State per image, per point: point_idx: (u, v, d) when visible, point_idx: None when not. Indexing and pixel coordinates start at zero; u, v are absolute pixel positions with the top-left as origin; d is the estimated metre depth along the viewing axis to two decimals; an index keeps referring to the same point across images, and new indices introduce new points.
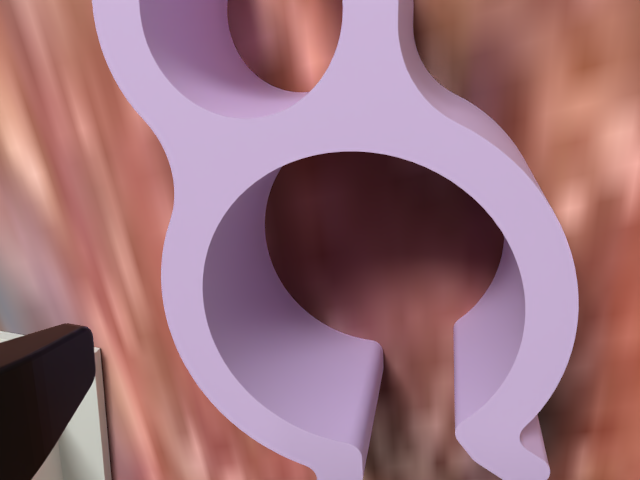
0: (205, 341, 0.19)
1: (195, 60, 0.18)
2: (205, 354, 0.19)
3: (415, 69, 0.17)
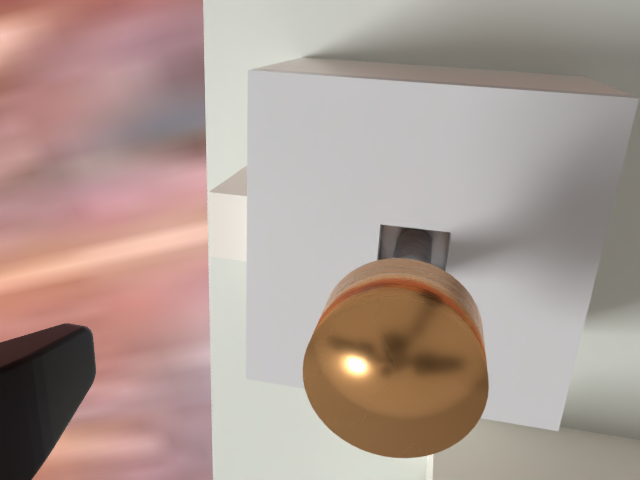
0: None
1: None
2: None
3: None
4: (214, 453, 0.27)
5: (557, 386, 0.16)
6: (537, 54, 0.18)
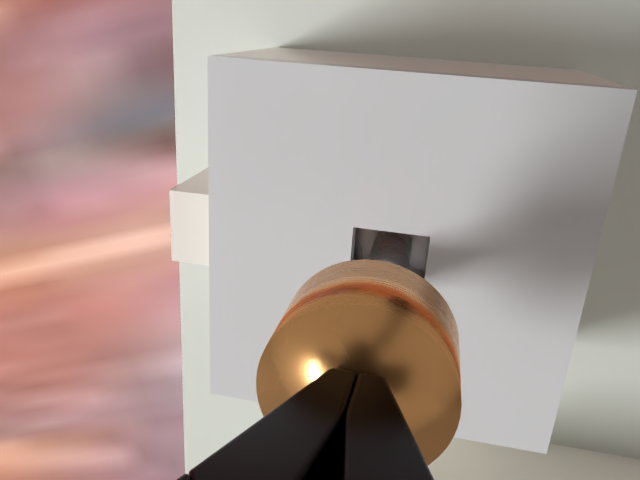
0: None
1: None
2: None
3: None
4: (187, 466, 0.25)
5: (545, 405, 0.14)
6: (528, 45, 0.17)
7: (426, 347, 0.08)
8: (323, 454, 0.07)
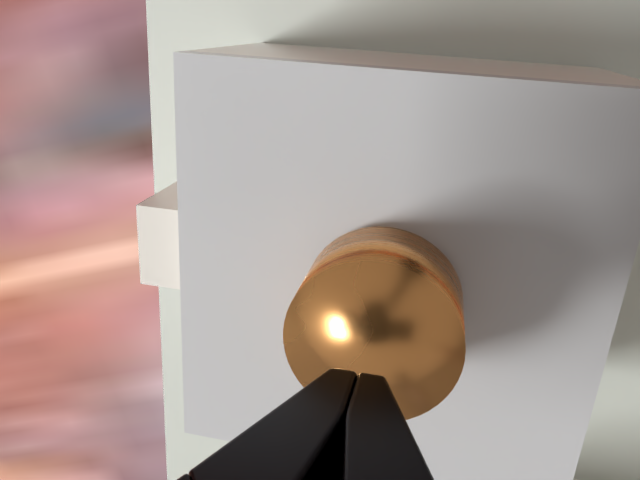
0: None
1: None
2: None
3: None
4: None
5: (565, 454, 0.12)
6: (543, 40, 0.15)
7: (435, 298, 0.10)
8: (323, 454, 0.07)
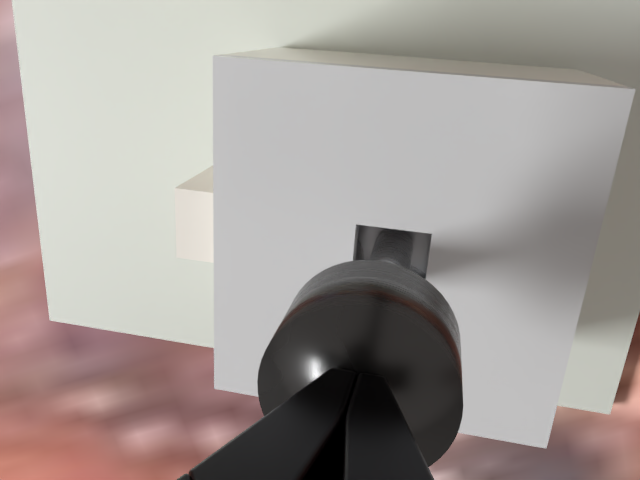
0: None
1: None
2: None
3: None
4: (32, 155, 0.22)
5: None
6: None
7: None
8: (323, 454, 0.07)
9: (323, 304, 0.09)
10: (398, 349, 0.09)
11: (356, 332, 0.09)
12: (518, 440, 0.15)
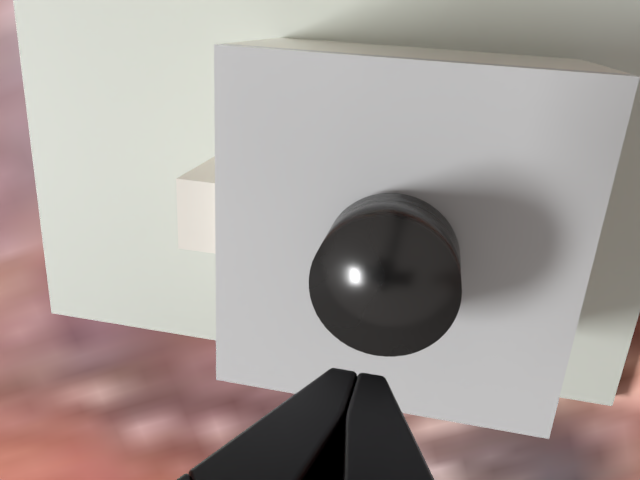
0: None
1: None
2: None
3: None
4: (33, 147, 0.22)
5: None
6: None
7: None
8: (323, 454, 0.07)
9: (359, 217, 0.12)
10: (414, 249, 0.12)
11: (384, 238, 0.12)
12: (520, 430, 0.15)
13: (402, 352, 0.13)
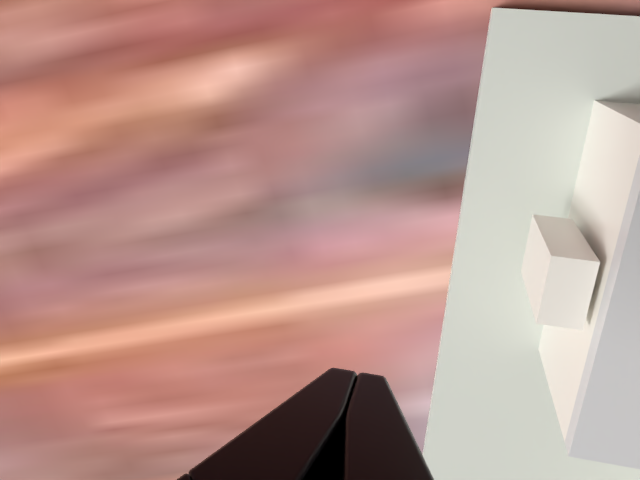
0: None
1: None
2: None
3: None
4: None
5: None
6: None
7: None
8: (323, 454, 0.07)
9: None
10: None
11: None
12: None
13: None
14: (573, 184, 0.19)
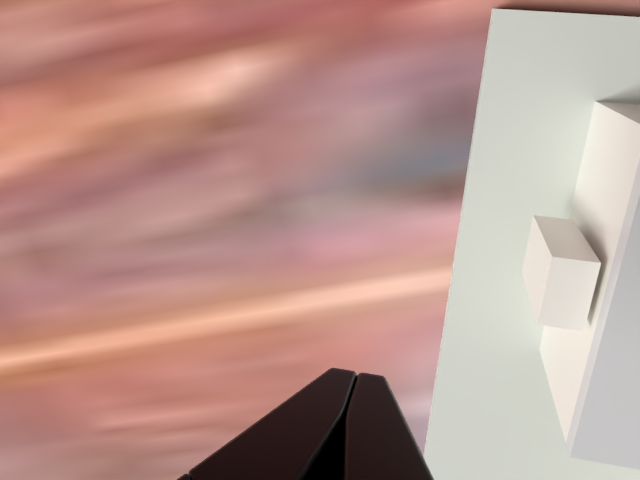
0: None
1: None
2: None
3: None
4: None
5: None
6: None
7: None
8: (323, 454, 0.07)
9: None
10: None
11: None
12: None
13: None
14: (574, 185, 0.19)
